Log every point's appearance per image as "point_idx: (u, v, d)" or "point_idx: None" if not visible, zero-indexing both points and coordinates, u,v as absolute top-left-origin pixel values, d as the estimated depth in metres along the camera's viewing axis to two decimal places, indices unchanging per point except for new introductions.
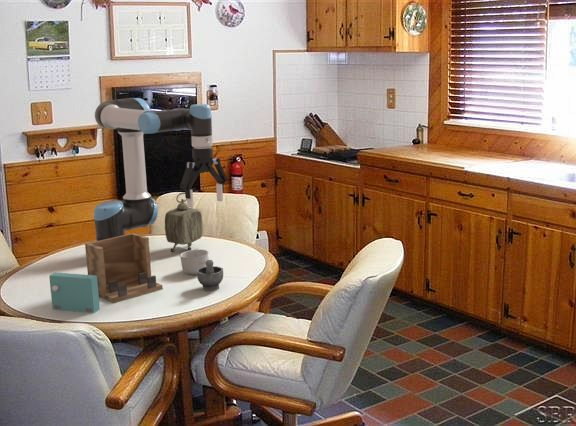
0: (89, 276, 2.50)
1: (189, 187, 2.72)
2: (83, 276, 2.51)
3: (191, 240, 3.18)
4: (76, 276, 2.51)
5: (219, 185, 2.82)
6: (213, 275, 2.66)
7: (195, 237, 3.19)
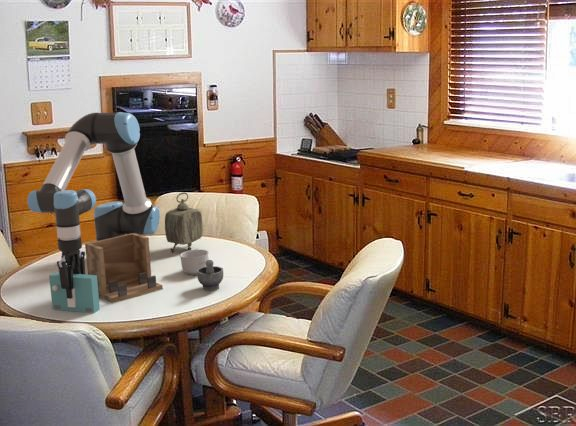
0: (89, 276, 2.50)
1: None
2: (83, 276, 2.51)
3: (191, 240, 3.18)
4: (76, 276, 2.51)
5: None
6: (213, 275, 2.66)
7: (195, 237, 3.19)
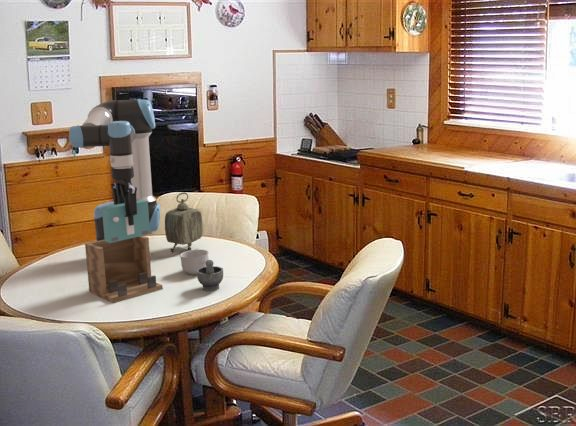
0: (140, 201, 2.65)
1: None
2: None
3: (191, 240, 3.18)
4: None
5: None
6: (213, 275, 2.66)
7: (195, 237, 3.19)
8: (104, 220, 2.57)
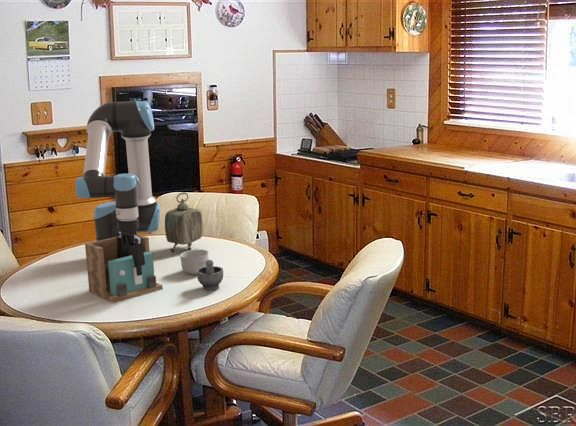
0: (145, 253, 2.70)
1: None
2: None
3: (191, 240, 3.18)
4: None
5: None
6: (213, 275, 2.66)
7: (195, 237, 3.19)
8: (110, 273, 2.62)
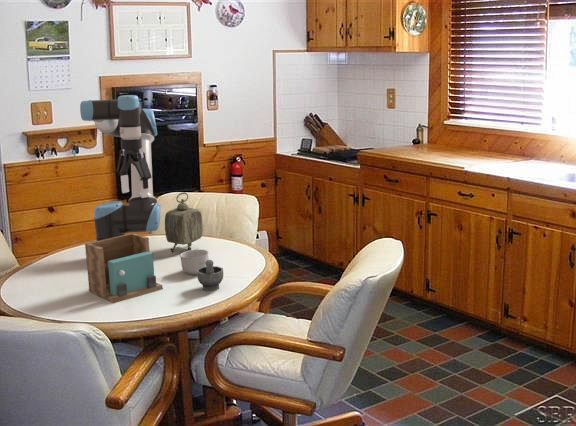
0: (145, 253, 2.70)
1: (120, 173, 2.84)
2: (140, 254, 2.68)
3: (191, 240, 3.18)
4: (135, 256, 2.66)
5: None
6: (213, 275, 2.66)
7: (195, 237, 3.19)
8: (110, 273, 2.62)
